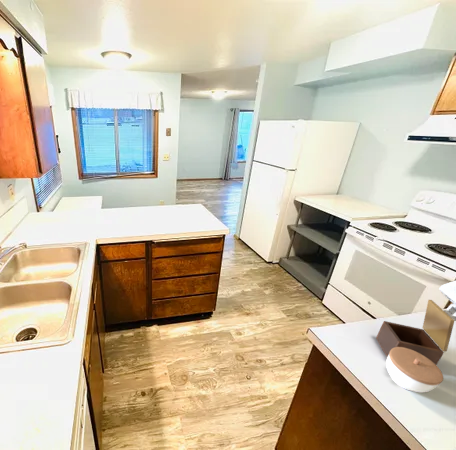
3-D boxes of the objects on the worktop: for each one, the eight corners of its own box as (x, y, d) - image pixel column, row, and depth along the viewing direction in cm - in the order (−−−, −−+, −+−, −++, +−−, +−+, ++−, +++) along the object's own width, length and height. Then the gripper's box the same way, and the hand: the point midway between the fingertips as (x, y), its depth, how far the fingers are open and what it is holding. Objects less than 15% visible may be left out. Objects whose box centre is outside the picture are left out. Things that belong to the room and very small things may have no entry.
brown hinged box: (389, 361, 77) (399, 342, 74) (375, 338, 85) (383, 320, 82) (431, 372, 74) (444, 352, 71) (413, 347, 82) (423, 329, 79)
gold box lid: (450, 320, 67) (454, 320, 67) (428, 299, 76) (431, 299, 75) (443, 351, 71) (446, 351, 70) (422, 328, 79) (425, 328, 79)
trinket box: (385, 388, 69) (399, 367, 65) (375, 357, 77) (387, 337, 73) (437, 407, 64) (455, 386, 60) (420, 372, 73) (435, 352, 69)
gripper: (558, 335, 56) (480, 353, 62) (482, 285, 74) (427, 303, 80) (543, 315, 55) (466, 335, 62) (470, 270, 73) (416, 289, 80)
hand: (444, 317), depth 71 cm, fingers closed
